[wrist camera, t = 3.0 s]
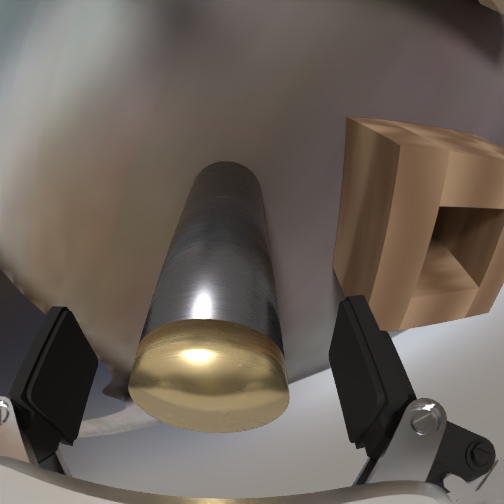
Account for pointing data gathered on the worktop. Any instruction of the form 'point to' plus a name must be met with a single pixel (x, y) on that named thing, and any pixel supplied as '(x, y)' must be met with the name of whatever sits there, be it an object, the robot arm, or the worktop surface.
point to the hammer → (494, 5)
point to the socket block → (420, 222)
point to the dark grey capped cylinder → (214, 315)
